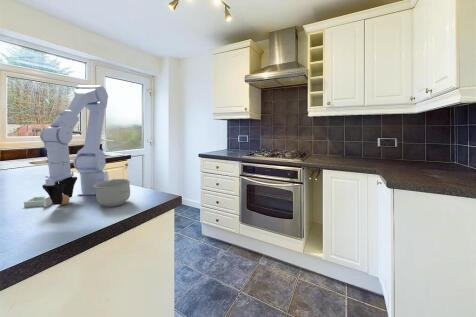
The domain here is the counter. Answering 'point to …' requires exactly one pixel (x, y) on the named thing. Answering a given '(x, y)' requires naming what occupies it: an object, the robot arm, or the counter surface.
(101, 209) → the counter surface
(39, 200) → the tray
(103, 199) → the teacup
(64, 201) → the ball
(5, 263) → the counter surface
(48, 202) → the wall
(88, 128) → the robot arm
